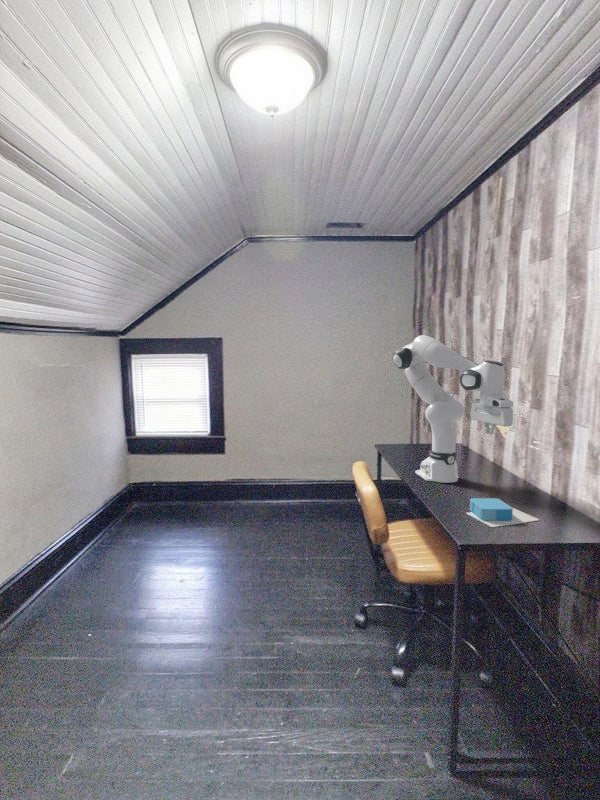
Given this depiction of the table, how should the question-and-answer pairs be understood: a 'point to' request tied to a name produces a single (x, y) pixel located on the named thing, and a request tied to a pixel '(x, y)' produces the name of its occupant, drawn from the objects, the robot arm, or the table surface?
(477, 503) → the data package
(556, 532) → the table surface
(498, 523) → the mat
